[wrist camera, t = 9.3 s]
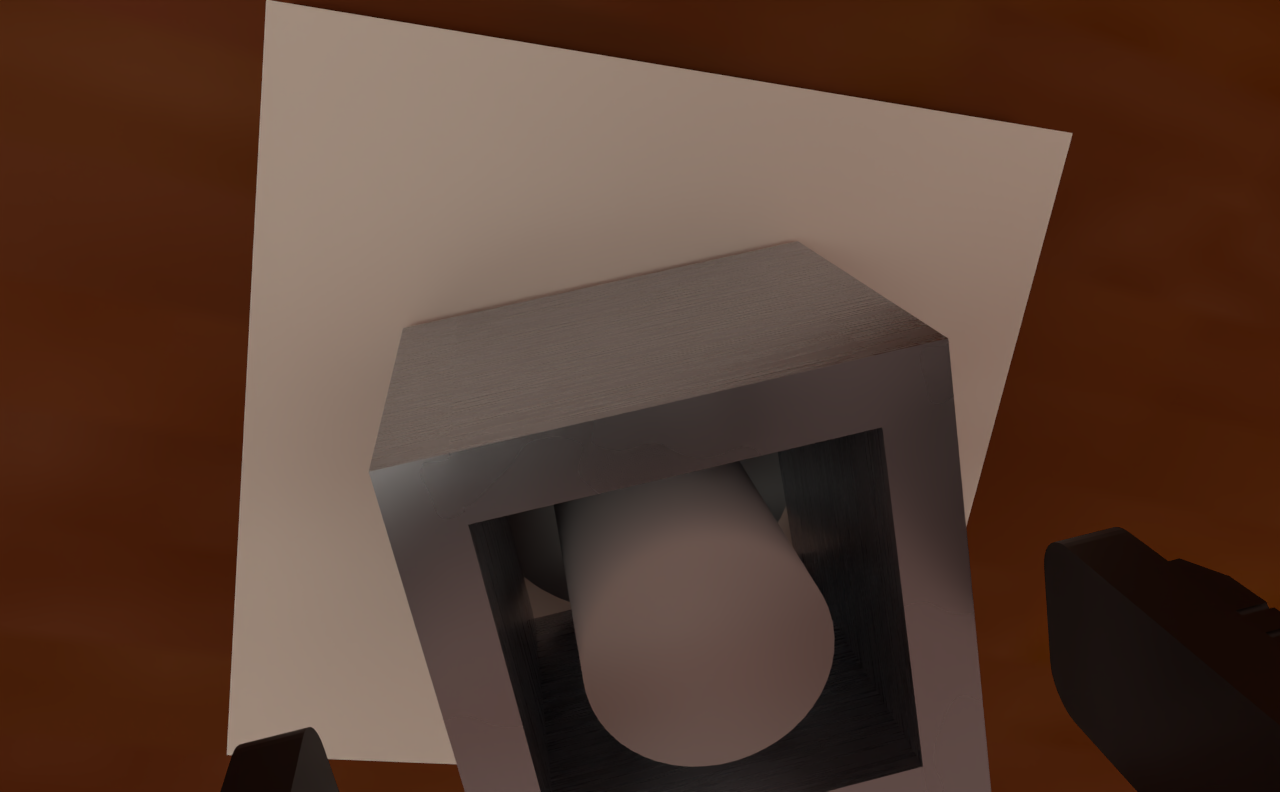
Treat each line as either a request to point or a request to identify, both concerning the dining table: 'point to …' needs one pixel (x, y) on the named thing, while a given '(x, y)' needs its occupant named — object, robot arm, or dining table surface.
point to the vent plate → (552, 264)
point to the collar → (678, 444)
